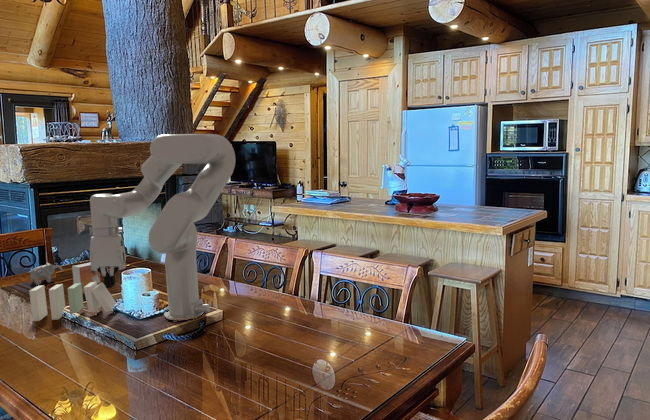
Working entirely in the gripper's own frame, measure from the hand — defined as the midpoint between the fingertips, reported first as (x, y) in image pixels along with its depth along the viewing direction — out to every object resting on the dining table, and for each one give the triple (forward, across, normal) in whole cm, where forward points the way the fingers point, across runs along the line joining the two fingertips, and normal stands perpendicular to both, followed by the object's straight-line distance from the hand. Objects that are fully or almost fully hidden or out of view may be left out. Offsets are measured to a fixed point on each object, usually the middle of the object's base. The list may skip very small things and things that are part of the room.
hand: (110, 286), depth 161 cm
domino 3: (+9, +11, 0) cm, 14 cm away
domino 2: (+9, +17, 0) cm, 19 cm away
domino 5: (+8, -1, 0) cm, 8 cm away
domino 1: (+9, +22, 0) cm, 24 cm away
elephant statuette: (+10, +40, -48) cm, 63 cm away
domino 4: (+9, +5, 0) cm, 10 cm away
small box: (+9, +18, -29) cm, 35 cm away
